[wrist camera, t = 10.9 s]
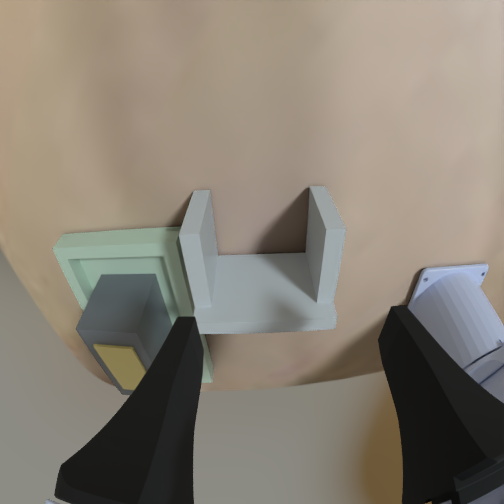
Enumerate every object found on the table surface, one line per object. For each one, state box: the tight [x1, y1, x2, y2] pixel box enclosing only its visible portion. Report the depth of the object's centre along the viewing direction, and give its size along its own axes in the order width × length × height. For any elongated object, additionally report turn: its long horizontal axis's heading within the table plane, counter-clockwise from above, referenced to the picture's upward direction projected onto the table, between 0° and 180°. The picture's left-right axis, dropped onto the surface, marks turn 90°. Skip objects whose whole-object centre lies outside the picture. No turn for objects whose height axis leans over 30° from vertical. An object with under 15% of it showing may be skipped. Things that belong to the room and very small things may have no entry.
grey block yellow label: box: [76, 274, 173, 395], centre depth 22 cm, size 9×5×6 cm, turn 2°
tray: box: [52, 226, 213, 383], centre depth 24 cm, size 17×10×2 cm, turn 2°
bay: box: [179, 186, 346, 334], centre depth 18 cm, size 6×8×6 cm
